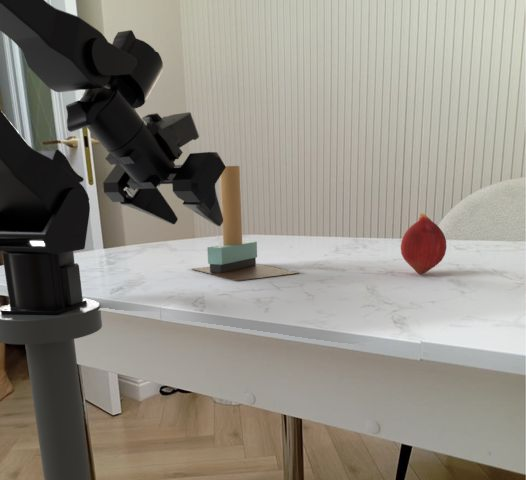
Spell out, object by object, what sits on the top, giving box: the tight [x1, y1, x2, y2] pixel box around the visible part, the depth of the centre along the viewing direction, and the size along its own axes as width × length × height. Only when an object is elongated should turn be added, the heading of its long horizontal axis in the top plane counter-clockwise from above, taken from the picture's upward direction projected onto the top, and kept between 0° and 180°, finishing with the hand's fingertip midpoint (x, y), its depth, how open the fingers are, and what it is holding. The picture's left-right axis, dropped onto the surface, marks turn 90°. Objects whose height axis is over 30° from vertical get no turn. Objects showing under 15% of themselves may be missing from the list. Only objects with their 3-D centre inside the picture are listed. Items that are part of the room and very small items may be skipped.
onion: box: [400, 212, 447, 275], centre depth 78 cm, size 6×6×8 cm
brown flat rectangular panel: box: [191, 263, 300, 282], centre depth 86 cm, size 14×10×1 cm
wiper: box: [206, 165, 258, 273], centre depth 86 cm, size 9×3×15 cm, turn 147°
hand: (197, 222), depth 81 cm, fingers open, 9 cm apart
